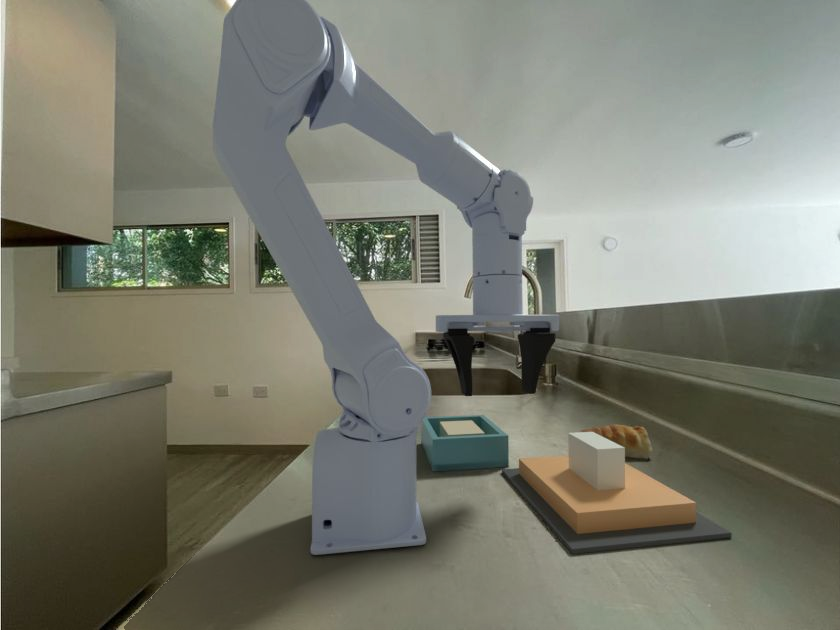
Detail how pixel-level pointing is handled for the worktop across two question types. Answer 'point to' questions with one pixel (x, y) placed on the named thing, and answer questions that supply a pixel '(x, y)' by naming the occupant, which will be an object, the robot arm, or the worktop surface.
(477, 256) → the robot arm
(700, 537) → the mat
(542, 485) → the lid
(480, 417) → the box
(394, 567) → the worktop surface
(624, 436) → the pastry
